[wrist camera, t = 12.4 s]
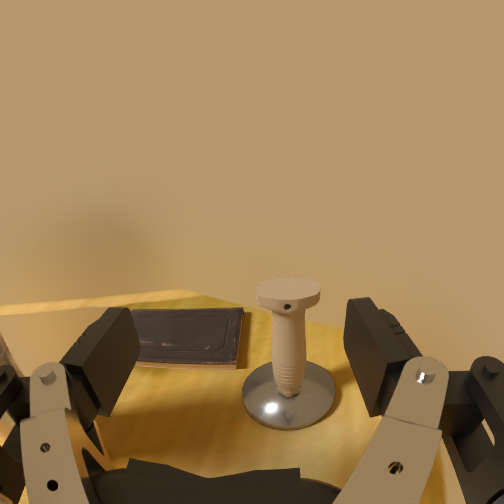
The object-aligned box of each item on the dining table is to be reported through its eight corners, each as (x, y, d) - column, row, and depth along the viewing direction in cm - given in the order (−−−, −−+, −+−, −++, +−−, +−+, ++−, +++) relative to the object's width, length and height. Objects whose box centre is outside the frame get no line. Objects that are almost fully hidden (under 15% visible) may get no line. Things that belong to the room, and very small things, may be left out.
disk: (224, 404, 33) (222, 398, 33) (276, 355, 42) (276, 349, 41) (305, 445, 26) (305, 440, 26) (348, 380, 35) (349, 374, 34)
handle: (265, 376, 36) (258, 277, 31) (313, 376, 35) (318, 276, 30) (262, 403, 32) (252, 300, 26) (314, 402, 31) (322, 298, 25)
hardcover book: (237, 374, 39) (235, 362, 38) (104, 366, 41) (99, 355, 40) (244, 315, 54) (243, 305, 53) (135, 316, 56) (132, 307, 55)
